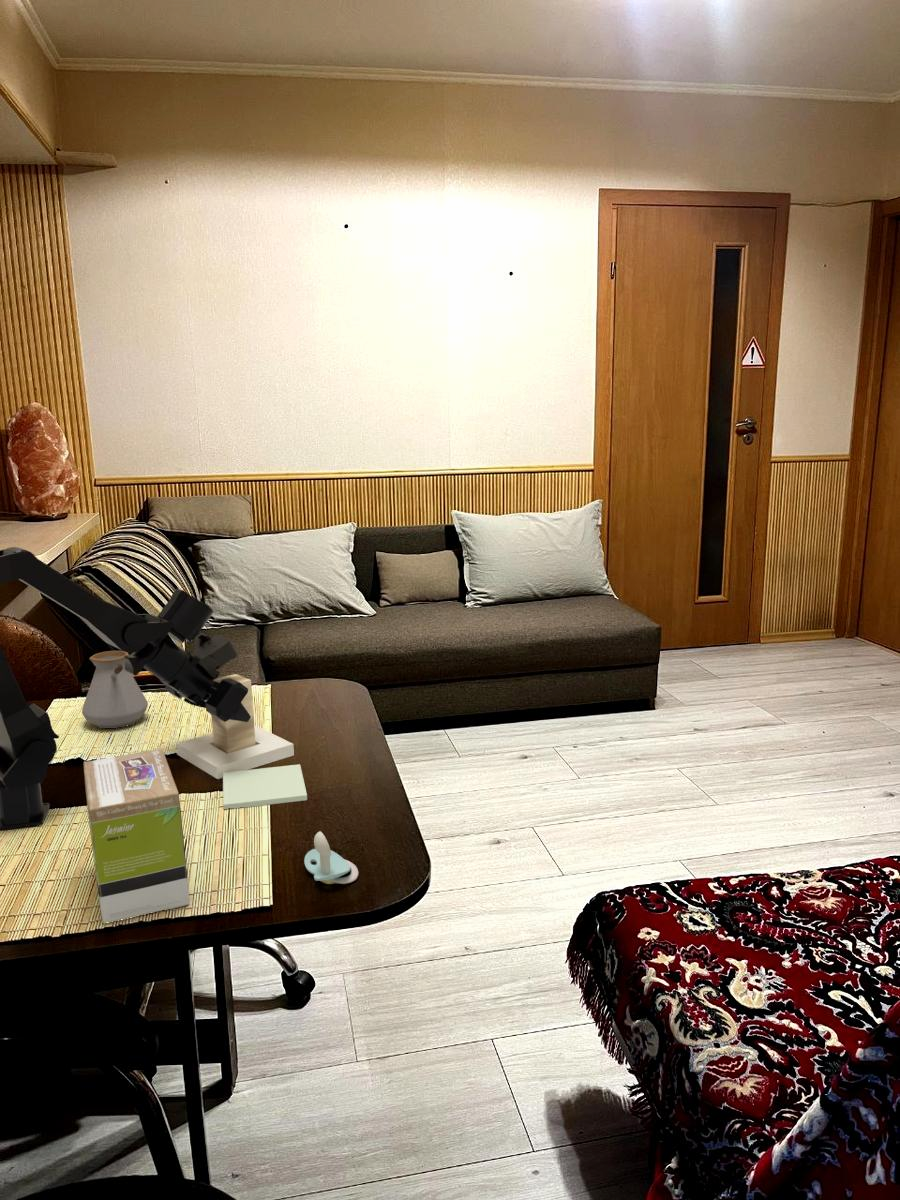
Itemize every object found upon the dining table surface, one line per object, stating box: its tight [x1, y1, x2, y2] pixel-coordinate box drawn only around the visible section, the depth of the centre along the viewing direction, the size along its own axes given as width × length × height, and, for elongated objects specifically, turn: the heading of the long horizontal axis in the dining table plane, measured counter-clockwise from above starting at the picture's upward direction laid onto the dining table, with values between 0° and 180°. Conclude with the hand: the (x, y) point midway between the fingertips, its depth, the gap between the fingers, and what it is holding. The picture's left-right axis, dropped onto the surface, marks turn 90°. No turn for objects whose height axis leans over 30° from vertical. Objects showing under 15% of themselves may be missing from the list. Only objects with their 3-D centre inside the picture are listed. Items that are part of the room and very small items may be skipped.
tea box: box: [83, 748, 191, 924], centre depth 110 cm, size 15×10×15 cm, turn 24°
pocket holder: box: [175, 724, 295, 780], centre depth 153 cm, size 14×14×2 cm
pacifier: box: [303, 831, 359, 885], centre depth 113 cm, size 7×6×6 cm
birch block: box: [211, 673, 256, 754], centre depth 151 cm, size 5×5×13 cm
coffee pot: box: [81, 650, 149, 729], centre depth 164 cm, size 21×12×15 cm, turn 27°
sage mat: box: [222, 763, 308, 810], centre depth 139 cm, size 12×12×1 cm
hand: (240, 715), depth 152 cm, fingers closed on birch block, 5 cm apart
